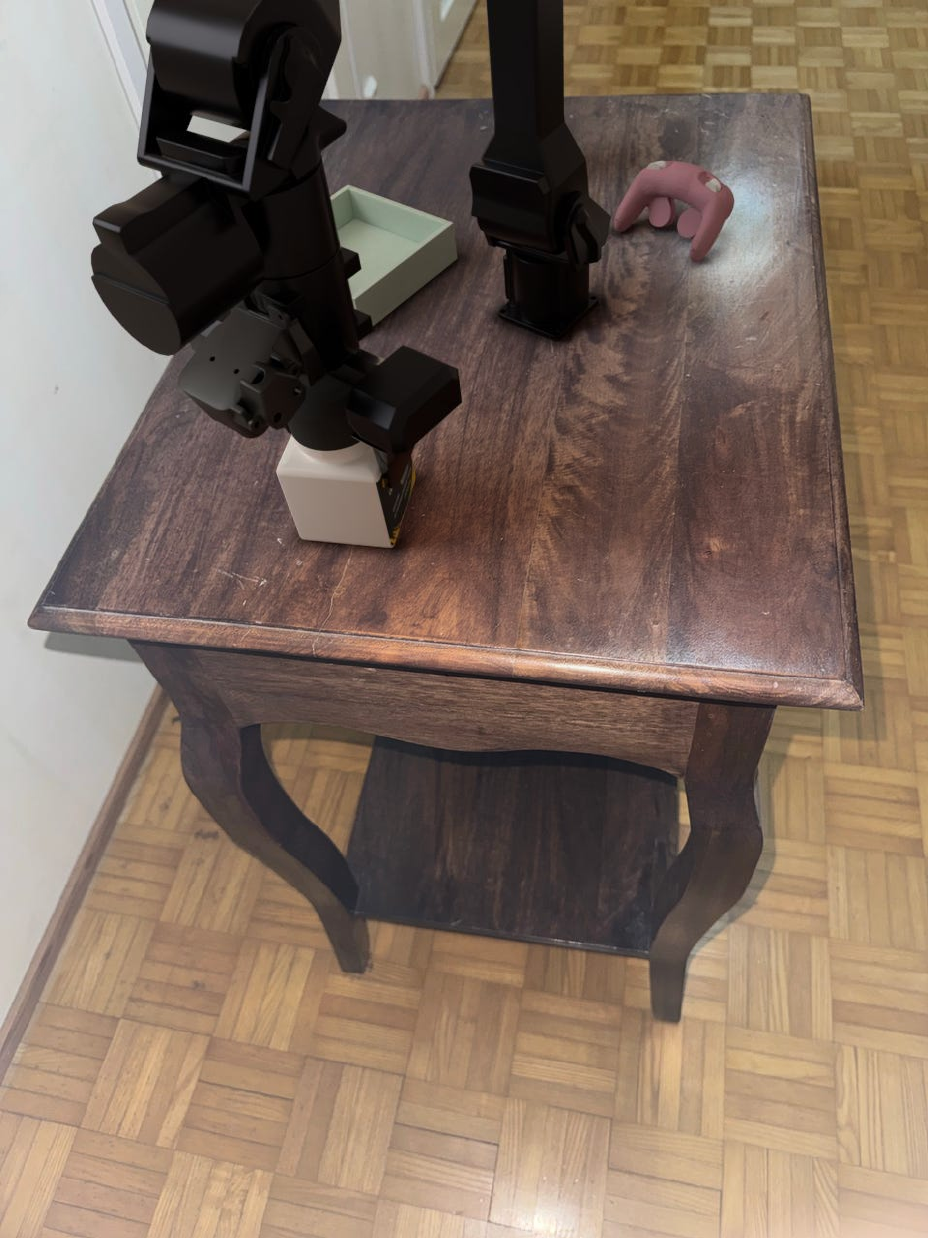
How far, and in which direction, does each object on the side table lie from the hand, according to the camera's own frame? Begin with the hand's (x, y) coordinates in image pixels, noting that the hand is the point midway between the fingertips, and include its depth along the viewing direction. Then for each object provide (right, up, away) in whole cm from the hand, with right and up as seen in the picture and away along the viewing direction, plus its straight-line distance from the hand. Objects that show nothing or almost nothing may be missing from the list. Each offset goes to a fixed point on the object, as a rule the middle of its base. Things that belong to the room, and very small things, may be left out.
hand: (343, 456), depth 62 cm
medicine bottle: (+1, -3, +4) cm, 6 cm away
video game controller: (+27, +24, +21) cm, 42 cm away
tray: (-2, +21, +22) cm, 30 cm away
